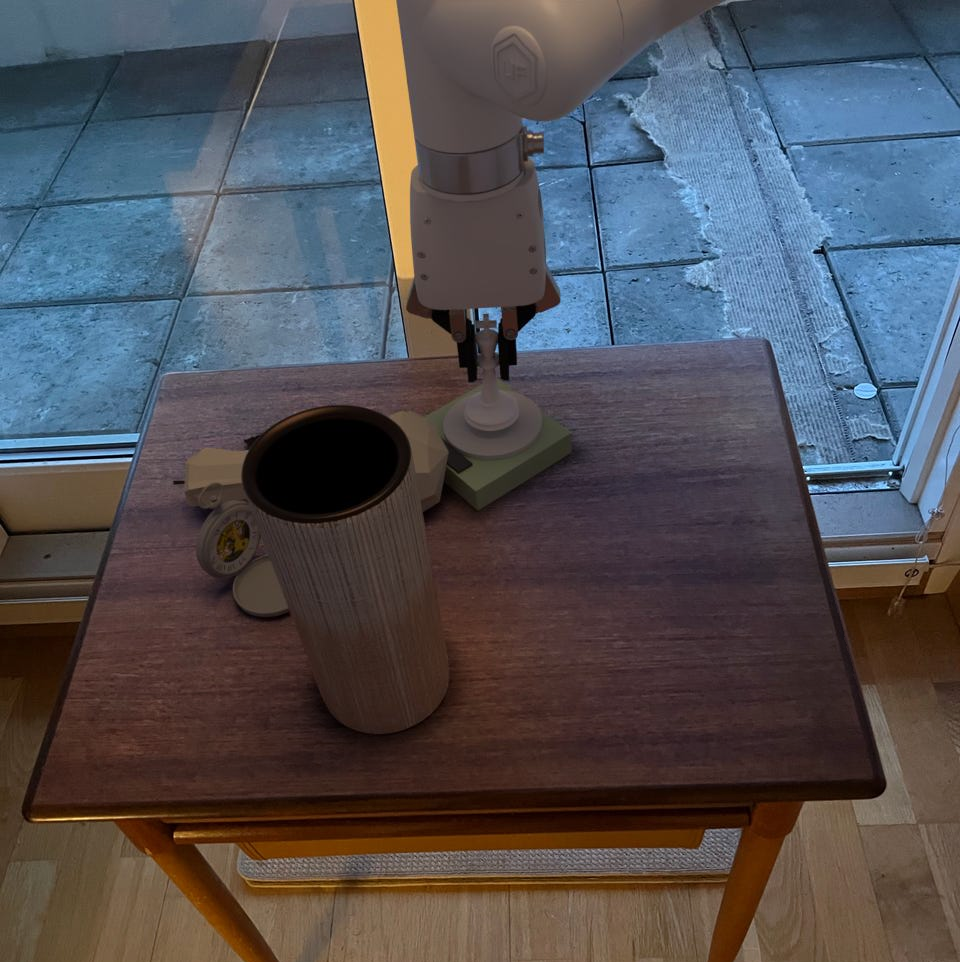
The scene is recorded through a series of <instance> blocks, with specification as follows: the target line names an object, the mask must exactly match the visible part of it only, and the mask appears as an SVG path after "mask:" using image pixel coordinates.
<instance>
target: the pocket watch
mask: <svg viewBox="0 0 960 962" xmlns="http://www.w3.org/2000/svg"><path fill="white" fill-rule="evenodd" d="M211 486H219V487H220V489H221V492H220V496H219V497H217V496H212V497H210V499H211V502H210V503H209V506H204V505H202V503H201V498H202V496H203V494H204V492H205V491H206V490H207V489H208V488H210V487H211ZM223 494H224V488H223V485H222V484H221V483H218V482H215V483H211V484H209V485H208V486H206V487H205V488H204V489H203V490H202V492H201V493H200V495H199V499H198V504H199V506H198V507H199V508H201V509H203V510H209V509H210V510H212V511H211V512H210V513H209V515H208V516H207V517H206V519H205V520H204V522H203V523H202V525H201V528H200V529H199V532H198V535H197V538H196V545H195V553H196V554H195V555H196V559H197V563H198V565H199V566H200V568H201V569H202V570H203V571H204V572H205V573H206V574H207V575H208V576H211V577H212V578H214V579H229V578H232V577H235V578H234V581H233V584H232V594H233V598H234V600H235V602H236V604H237V605H238V607H239V608H240V609H241V610H242V611H244V612H245V613H247V614H249V615H251V616H255V617H260V618H261V617H262V618H269V617H270V618H271V617H278V616H281V615H284V614H288V613H290V612H289V609H288V606H287V604H286V601H285V598H284V596H283V593H282V590H281V588H280V585H279V582H278V580H277V577H276V575H275V572H274V569H273V567H272V564H271V561H270V559H269V556H268V553H266V554H263V555H261V556H258V557H256V558H254V556H255V555H256V552H257V551H258V548H259V545H260V542H261V540H262V537H261V535H260V532H259V530H258V527H257V524H256V522H255V519H254V516H253V514H252V511H251V508H250V506H249V503H248V502H244V501H234V500H233V501H229V502H225V503H224V504H222V505H221V503H222V496H223ZM236 522H237V523H236ZM226 549H227V550H228V551H227V552H225V550H226ZM222 555H223V557H221V556H222Z"/></svg>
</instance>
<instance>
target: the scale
mask: <svg viewBox="0 0 960 962" xmlns="http://www.w3.org/2000/svg"><path fill="white" fill-rule="evenodd" d="M496 378H497V383H498V388H499V390H501V391H505V392H507V393H509V394H511V395H512V396H513V397H514V398H515V399H516V401H517V403H518V408H519V415H518V418H517V419H516V421H515V422H514V423H513V424H511V425H510V426H508V427H506V428H504V429H501V430H496V431H484V430H480V429H477V428H474V427H472V426H471V425H470V424H469V423H468V422H467V421H466V419H465V417H464V410H465V404H466V402H467V400H468V399H469V398H470V397H471V396H473V395H474V394H476V393H478V392H481V391H482V383H481V384H480V385H478V386H476V387H474V388H471V390H469V391H467V392H465V393H463V394H462V395H460V396H459V397H457V398H455V399H453V400H451V401H450V402H447V403H446V404H444V405H443V406H440V407H439V408H437V409H435V410H434V411H432V412H429V413H428V414H427V415H425V416H424V417H426V418H427V420H428V421H429V422H430V423H431V424H432V425H433V426H434V427H435V429H436V430H437V431H438V433H439V435H440V437H441V439H442V441H443V442H444V444H445V446H446V448H447V450H448V452H449V454H448V459H447V464H446V470H445V475H444V481H443V483H445V484H446V485H447V486H448V487H450V488H451V490H453V492H455V493H457V495H458V496H459V497H461V498H462V499H463V500H464V501H466V502H467V503H468V504H469V505H470V506H472V508H474V509H475V510H476V511H480V510H482V509H483V508H485V507H487V506H489V505H490V504H491V503H493V502H494V501H496V500H498V499H499V498H501V497H503V496H504V495H506V494H508V493H509V492H511V491H512V490H514V489H516V488H517V487H519V486H520V485H522V484H523V483H525V482H527V481H528V480H530V479H532V478H533V477H535V476H536V475H538V474H539V473H541V472H543V471H544V470H547V469H548V468H549V467H551V466H553V465H554V464H555V463H557V462H559V461H560V460H562V459H564V458H565V457H567V456H569V455H570V454H572V453H573V432H572V431H570V430H569V429H568V428H567V427H565V426H563V424H561V423H560V422H558V421H556V420H555V419H554V418H553V417H551V416H550V415H549V414H547V413H546V412H545V411H543V410H542V409H540V408H539V406H538V405H537V404H536V403H535V402H534V401H533V400H531V399H530V398H529V397H527V396H525V395H523V394H521V393H519V392H517V391H516V390H514V389H513V388H511V387H510V386H509V385H508V384H506V383H505V382H504V381H503V380H502V379H499V378H498V377H496Z"/></svg>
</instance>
